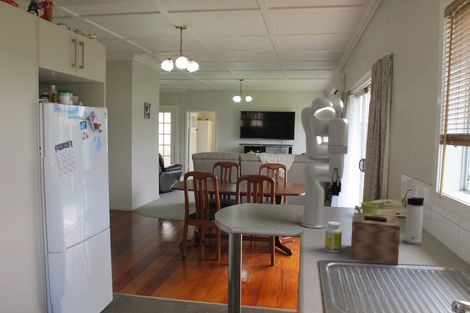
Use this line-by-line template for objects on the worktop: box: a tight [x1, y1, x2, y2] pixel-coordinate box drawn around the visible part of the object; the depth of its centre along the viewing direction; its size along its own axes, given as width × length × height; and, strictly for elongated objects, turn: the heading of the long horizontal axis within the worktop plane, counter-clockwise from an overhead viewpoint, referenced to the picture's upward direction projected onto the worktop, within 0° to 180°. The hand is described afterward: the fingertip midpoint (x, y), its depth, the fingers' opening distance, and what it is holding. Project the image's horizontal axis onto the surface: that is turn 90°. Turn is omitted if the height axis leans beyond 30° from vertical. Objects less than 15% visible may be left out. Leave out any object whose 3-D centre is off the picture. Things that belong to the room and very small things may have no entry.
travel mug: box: [404, 197, 425, 246], centre depth 149 cm, size 6×7×20 cm
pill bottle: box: [324, 221, 343, 254], centre depth 138 cm, size 6×6×11 cm
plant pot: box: [360, 201, 380, 215], centre depth 190 cm, size 9×9×9 cm
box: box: [350, 212, 401, 266], centre depth 134 cm, size 16×16×14 cm
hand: (335, 193), depth 137 cm, fingers open, 9 cm apart
